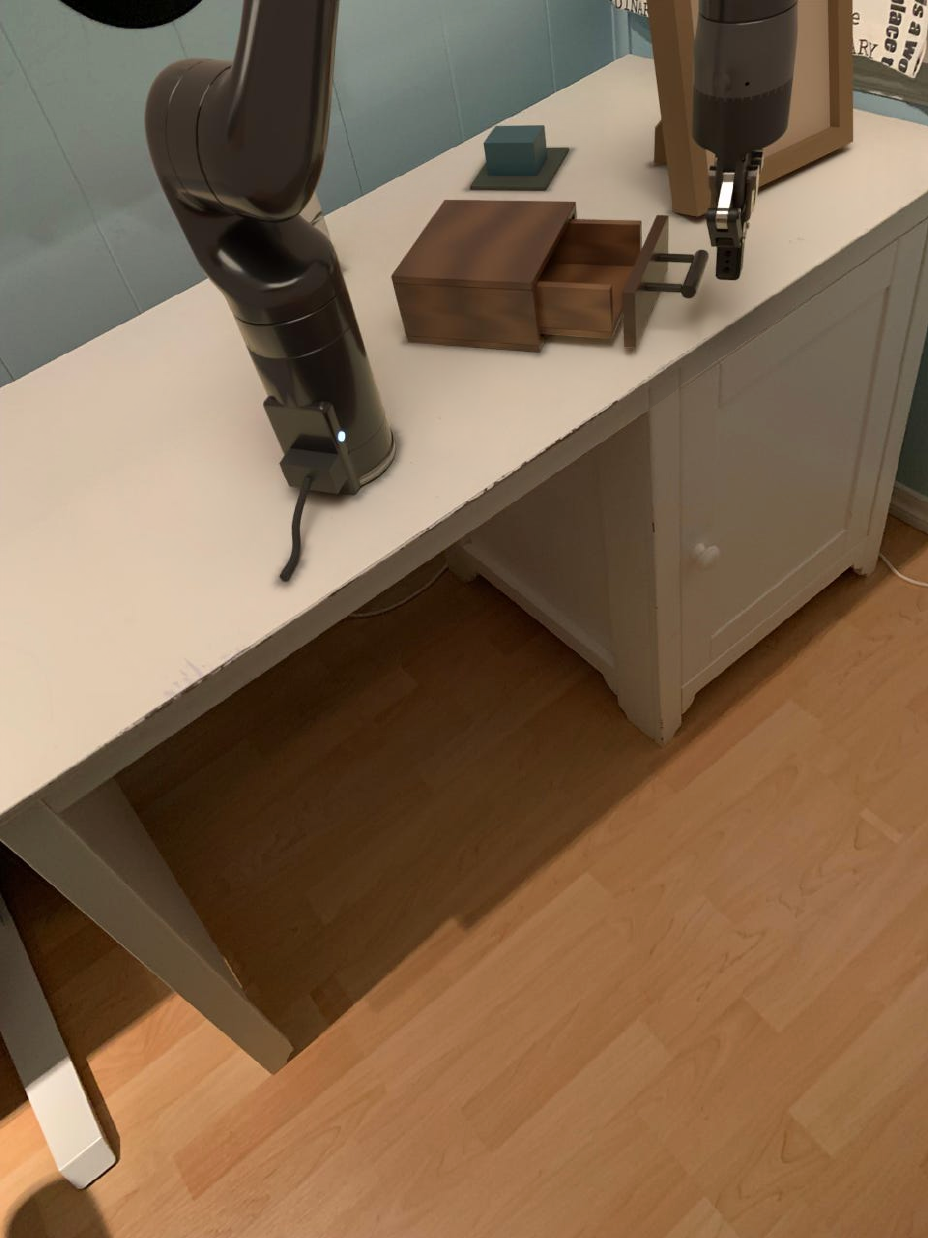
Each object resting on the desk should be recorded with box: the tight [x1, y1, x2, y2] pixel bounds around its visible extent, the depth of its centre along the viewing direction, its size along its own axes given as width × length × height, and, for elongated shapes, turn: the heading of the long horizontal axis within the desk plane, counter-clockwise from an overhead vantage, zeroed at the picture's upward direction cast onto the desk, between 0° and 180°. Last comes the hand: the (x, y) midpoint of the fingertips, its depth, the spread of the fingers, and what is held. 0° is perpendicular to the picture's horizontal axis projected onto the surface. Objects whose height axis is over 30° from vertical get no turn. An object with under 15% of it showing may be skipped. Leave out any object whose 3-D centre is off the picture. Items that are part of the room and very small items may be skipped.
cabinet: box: [390, 199, 578, 353], centre depth 90 cm, size 15×15×8 cm
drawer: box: [535, 214, 710, 349], centre depth 86 cm, size 18×13×6 cm
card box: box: [483, 124, 548, 176], centre depth 109 cm, size 4×6×4 cm
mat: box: [469, 147, 570, 191], centre depth 111 cm, size 10×10×1 cm
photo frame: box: [645, 0, 854, 218], centre depth 93 cm, size 15×22×25 cm
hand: (728, 275), depth 81 cm, fingers closed
